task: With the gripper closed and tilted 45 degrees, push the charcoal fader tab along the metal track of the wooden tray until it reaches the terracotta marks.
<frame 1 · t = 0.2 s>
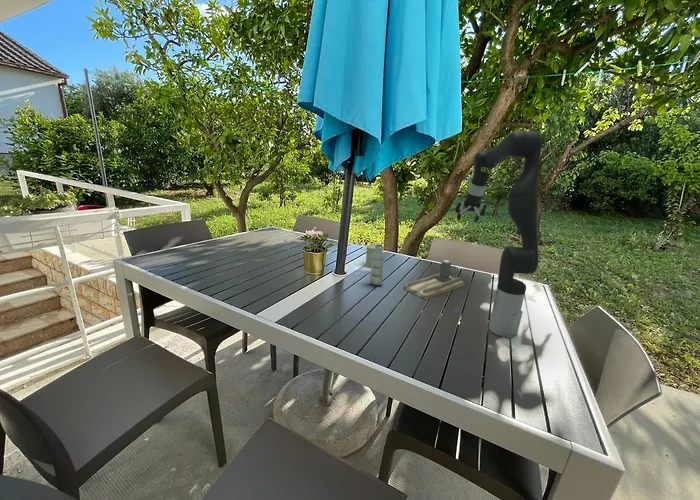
hand: (466, 220, 163), 31 cm above the table, tool tilted 20°, fingers open, 8 cm apart
plastic bottle: (375, 284, 155), on the table
can: (373, 265, 181), on the table
fader tab: (445, 270, 157), point 7 cm above the table, slide at 0.0 cm
wooden tray: (434, 287, 155), on the table
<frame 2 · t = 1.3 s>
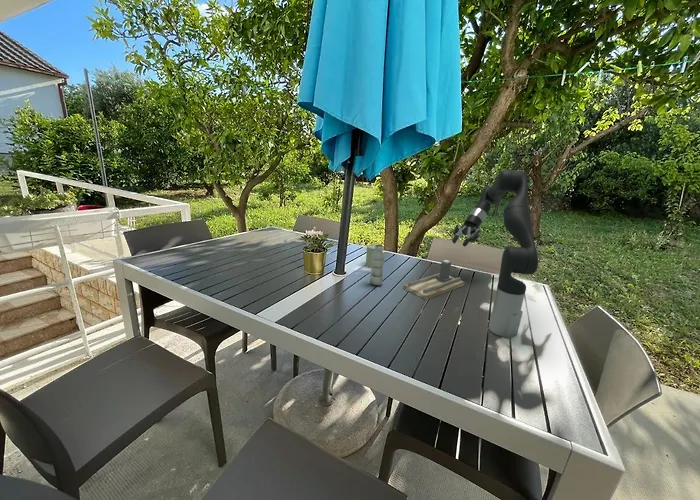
hand: (458, 243, 158), 20 cm above the table, tool tilted 45°, fingers open, 5 cm apart
nothing on the table moved.
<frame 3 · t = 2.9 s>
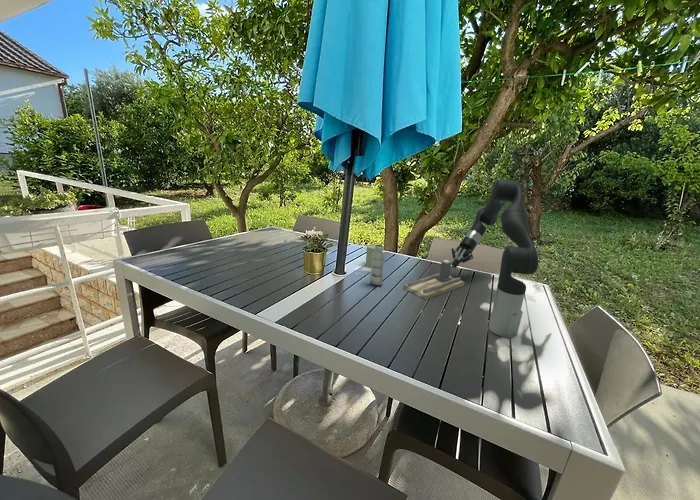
hand: (453, 266, 161), 8 cm above the table, tool tilted 45°, fingers closed
nothing on the table moved.
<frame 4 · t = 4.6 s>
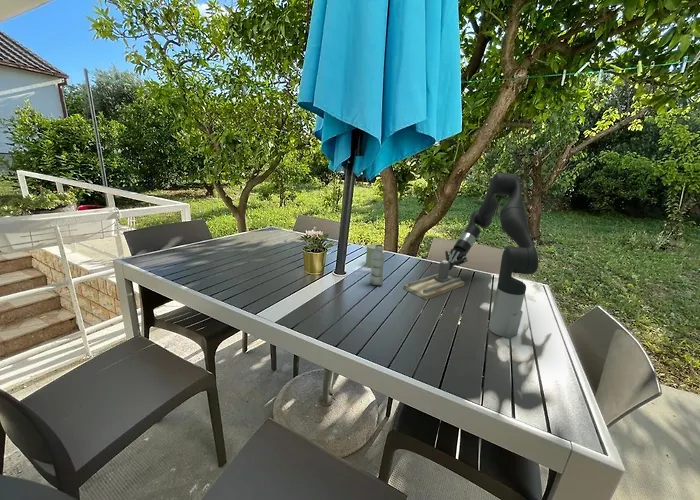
hand: (447, 269, 158), 8 cm above the table, tool tilted 45°, fingers closed
fader tab: (443, 270, 157), point 7 cm above the table, slide at 1.2 cm, touching gripper
everything else where it was.
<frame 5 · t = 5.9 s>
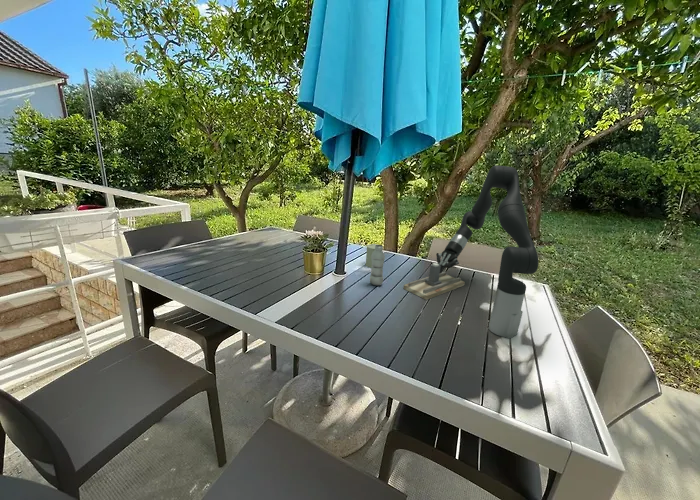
hand: (438, 272, 154), 8 cm above the table, tool tilted 45°, fingers closed
fader tab: (434, 273, 152), point 7 cm above the table, slide at 8.6 cm, touching gripper
everything else where it was.
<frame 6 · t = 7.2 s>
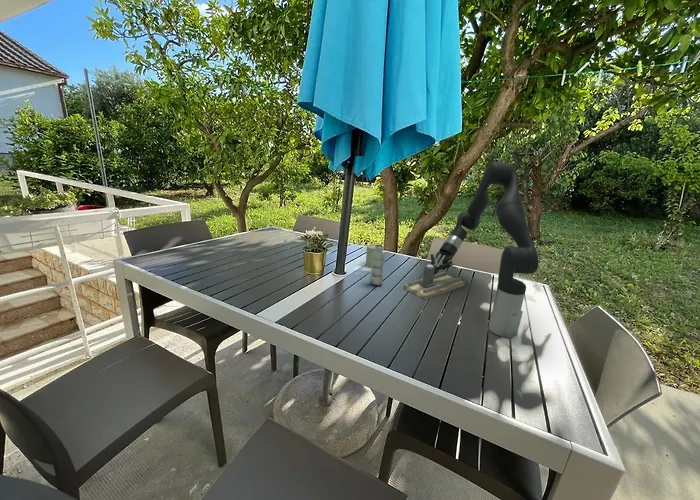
hand: (432, 274, 151), 8 cm above the table, tool tilted 45°, fingers closed
fader tab: (428, 275, 150), point 7 cm above the table, slide at 13.0 cm, touching gripper
everything else where it was.
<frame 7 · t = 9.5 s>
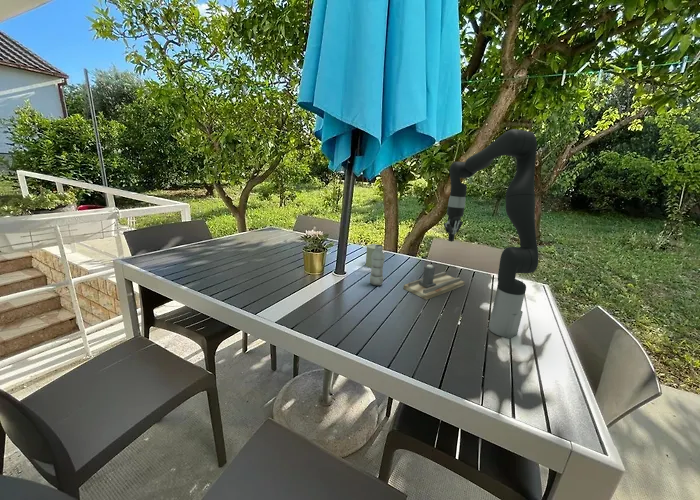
hand: (450, 241, 153), 23 cm above the table, tool pointing down, fingers closed
fader tab: (428, 275, 150), point 7 cm above the table, slide at 13.1 cm
everything else where it was.
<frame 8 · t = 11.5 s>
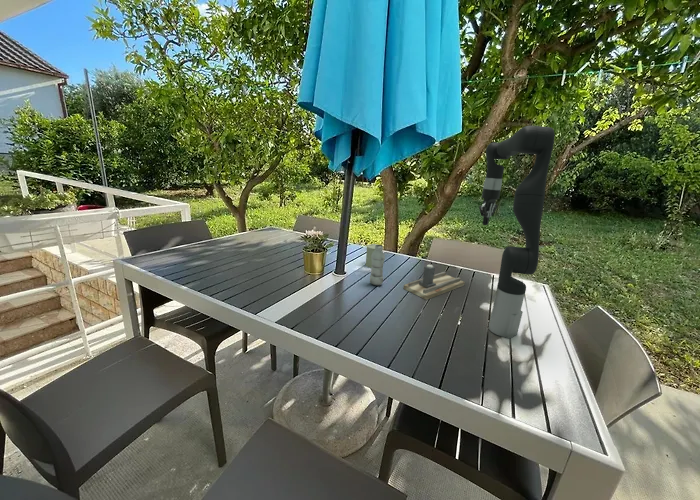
hand: (485, 224, 150), 32 cm above the table, tool pointing down, fingers closed
nothing on the table moved.
at the end: fader tab slide at 13.1 cm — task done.
